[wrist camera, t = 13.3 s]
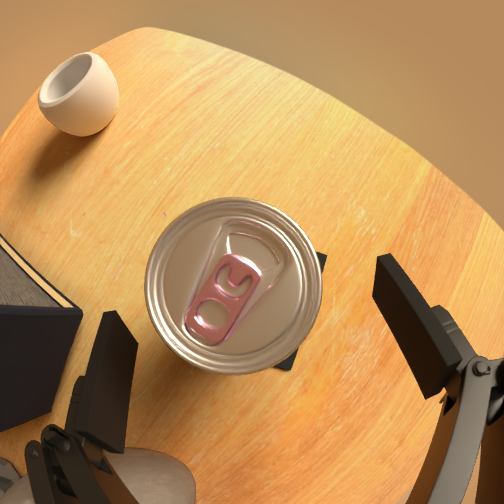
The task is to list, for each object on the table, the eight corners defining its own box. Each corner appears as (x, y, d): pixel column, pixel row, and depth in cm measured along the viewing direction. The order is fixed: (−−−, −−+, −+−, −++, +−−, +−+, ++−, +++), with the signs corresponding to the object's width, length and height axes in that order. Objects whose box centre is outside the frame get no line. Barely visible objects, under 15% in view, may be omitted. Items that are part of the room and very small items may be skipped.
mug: (141, 105, 28) (114, 59, 20) (86, 159, 27) (46, 123, 19) (96, 72, 29) (72, 36, 21) (51, 116, 28) (19, 85, 21)
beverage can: (201, 307, 23) (108, 312, 9) (239, 245, 24) (202, 161, 9) (263, 345, 23) (263, 415, 8) (301, 282, 23) (361, 250, 9)
